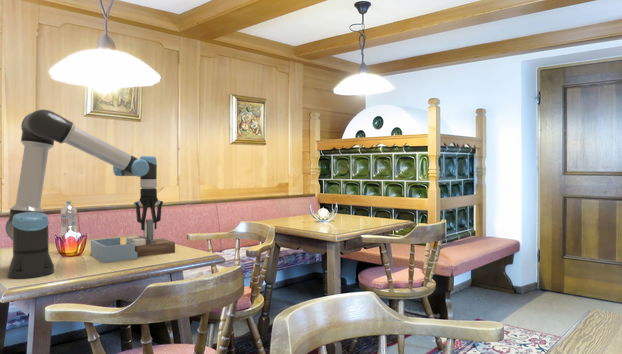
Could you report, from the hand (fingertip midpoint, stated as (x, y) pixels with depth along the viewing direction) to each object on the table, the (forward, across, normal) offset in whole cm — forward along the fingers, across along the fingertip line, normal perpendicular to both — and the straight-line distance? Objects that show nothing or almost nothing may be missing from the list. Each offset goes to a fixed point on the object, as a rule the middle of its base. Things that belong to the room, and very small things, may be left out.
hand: (149, 236), depth 215 cm
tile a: (+3, +6, +4) cm, 8 cm away
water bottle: (+8, +30, -24) cm, 40 cm away
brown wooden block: (+8, -1, 0) cm, 8 cm away
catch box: (+8, +16, 0) cm, 18 cm away
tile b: (+3, +6, -4) cm, 8 cm away
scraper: (+3, +1, 0) cm, 3 cm away
